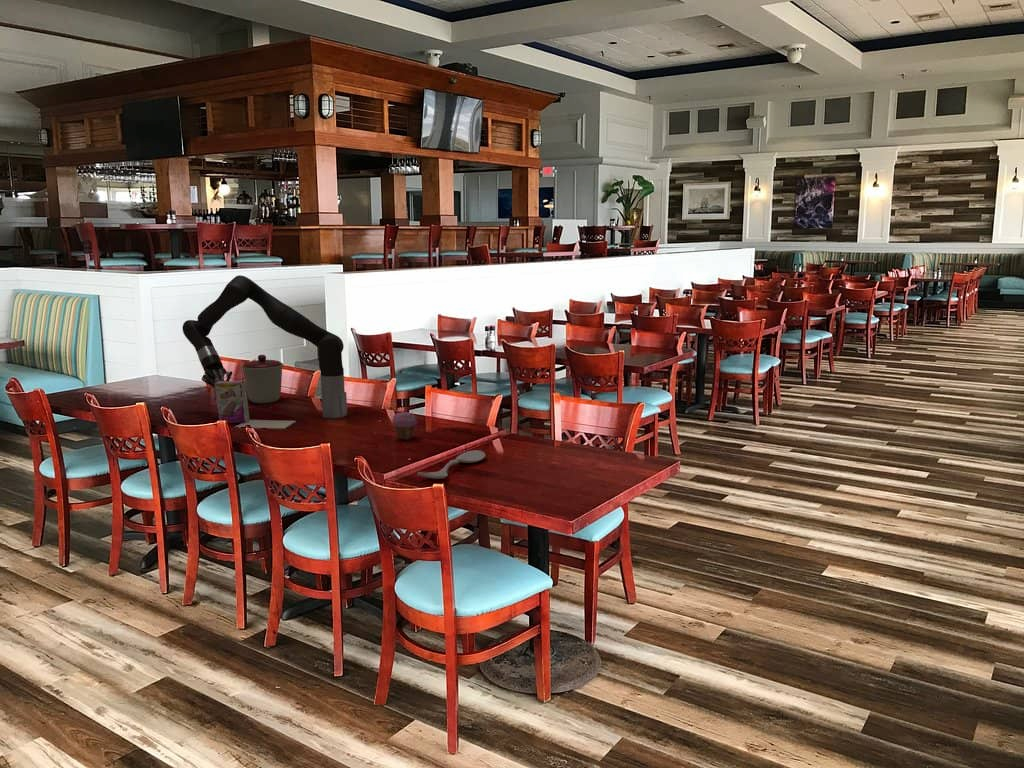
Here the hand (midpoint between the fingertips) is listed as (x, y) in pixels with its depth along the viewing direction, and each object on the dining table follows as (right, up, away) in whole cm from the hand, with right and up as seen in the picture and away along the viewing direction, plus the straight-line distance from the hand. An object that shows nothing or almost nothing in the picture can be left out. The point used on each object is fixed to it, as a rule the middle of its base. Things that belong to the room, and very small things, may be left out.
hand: (224, 393), depth 329 cm
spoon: (+97, -24, -67) cm, 120 cm away
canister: (+4, -4, +39) cm, 39 cm away
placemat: (+18, -12, -6) cm, 23 cm away
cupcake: (+76, -16, -28) cm, 83 cm away
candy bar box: (+5, -12, -2) cm, 13 cm away
